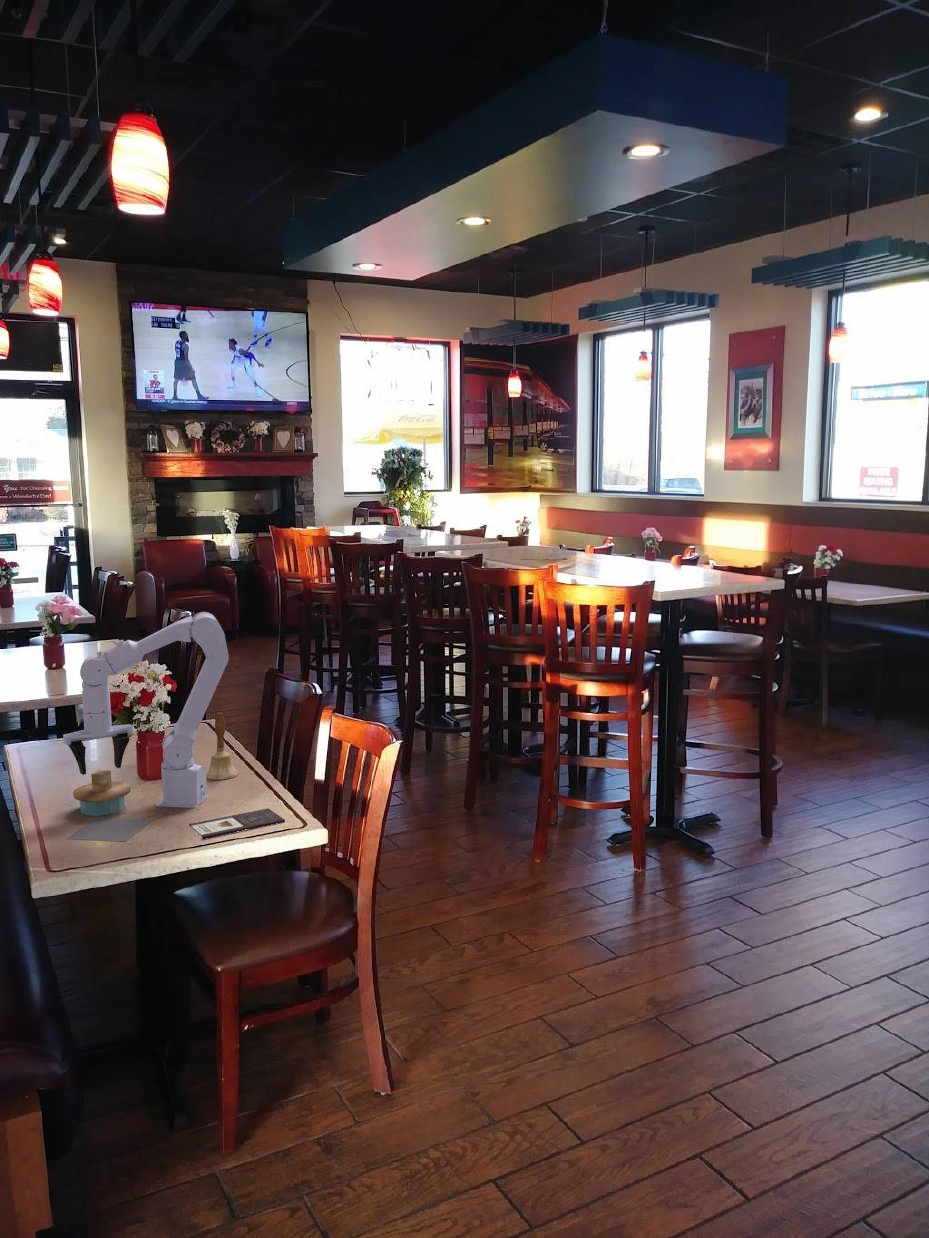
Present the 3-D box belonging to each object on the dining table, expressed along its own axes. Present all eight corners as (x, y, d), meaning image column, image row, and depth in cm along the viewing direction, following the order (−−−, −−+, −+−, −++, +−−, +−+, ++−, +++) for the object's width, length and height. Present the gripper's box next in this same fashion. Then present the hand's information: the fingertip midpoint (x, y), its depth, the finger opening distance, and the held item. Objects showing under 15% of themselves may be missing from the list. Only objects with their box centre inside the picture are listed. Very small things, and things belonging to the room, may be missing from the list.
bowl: (131, 803, 223) (130, 787, 222) (112, 817, 214) (111, 800, 213) (93, 802, 224) (92, 785, 223) (72, 816, 215) (71, 798, 214)
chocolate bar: (284, 819, 211) (203, 836, 201) (285, 823, 211) (204, 841, 201) (268, 808, 219) (189, 824, 209) (268, 812, 219) (189, 828, 209)
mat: (153, 821, 212) (153, 819, 212) (126, 843, 199) (125, 841, 199) (96, 818, 213) (96, 816, 213) (65, 840, 201) (65, 838, 200)
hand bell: (216, 768, 250) (214, 708, 247) (244, 772, 247) (242, 710, 244) (197, 778, 242) (194, 715, 240) (225, 781, 239) (223, 718, 237)
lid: (140, 785, 223) (139, 765, 222) (114, 803, 211) (113, 781, 211) (90, 783, 225) (89, 763, 224) (62, 800, 213) (61, 779, 212)
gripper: (123, 702, 223) (126, 760, 225) (57, 712, 214) (61, 772, 216) (134, 708, 218) (137, 767, 220) (67, 718, 209) (71, 779, 211)
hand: (100, 770), depth 218 cm, fingers open, 7 cm apart
